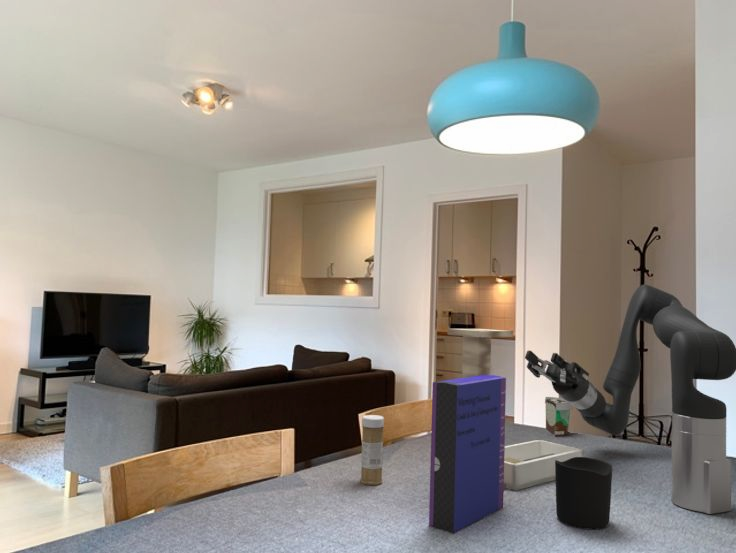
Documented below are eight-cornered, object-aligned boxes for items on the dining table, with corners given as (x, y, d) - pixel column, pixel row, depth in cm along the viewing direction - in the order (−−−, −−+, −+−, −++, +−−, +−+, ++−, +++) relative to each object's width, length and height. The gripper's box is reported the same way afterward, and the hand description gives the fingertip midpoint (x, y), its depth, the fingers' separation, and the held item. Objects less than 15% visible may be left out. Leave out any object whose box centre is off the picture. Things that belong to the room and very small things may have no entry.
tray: (538, 460, 146) (539, 439, 146) (583, 472, 136) (583, 449, 137) (469, 476, 130) (470, 453, 130) (515, 490, 121) (515, 465, 121)
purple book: (480, 501, 113) (483, 373, 114) (503, 507, 110) (506, 376, 111) (428, 526, 100) (432, 381, 101) (453, 533, 97) (457, 384, 98)
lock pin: (546, 461, 141) (547, 448, 141) (566, 466, 137) (566, 453, 137) (500, 473, 129) (500, 459, 130) (519, 478, 126) (519, 464, 126)
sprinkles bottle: (381, 479, 126) (383, 414, 126) (382, 486, 121) (384, 418, 122) (359, 479, 125) (361, 414, 126) (360, 485, 121) (362, 418, 121)
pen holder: (617, 533, 99) (617, 472, 100) (558, 528, 101) (559, 468, 101) (605, 514, 108) (605, 458, 109) (551, 509, 110) (552, 454, 110)
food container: (577, 439, 172) (578, 403, 172) (556, 438, 172) (556, 403, 172) (564, 430, 184) (565, 397, 184) (544, 429, 184) (545, 396, 185)
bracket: (476, 477, 129) (479, 328, 130) (510, 488, 122) (513, 331, 123) (442, 485, 122) (446, 328, 124) (475, 497, 115) (479, 331, 117)
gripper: (553, 371, 152) (519, 338, 144) (607, 377, 141) (573, 342, 132) (544, 398, 150) (509, 366, 141) (598, 406, 138) (563, 373, 130)
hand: (540, 355), depth 137 cm, fingers open, 6 cm apart
